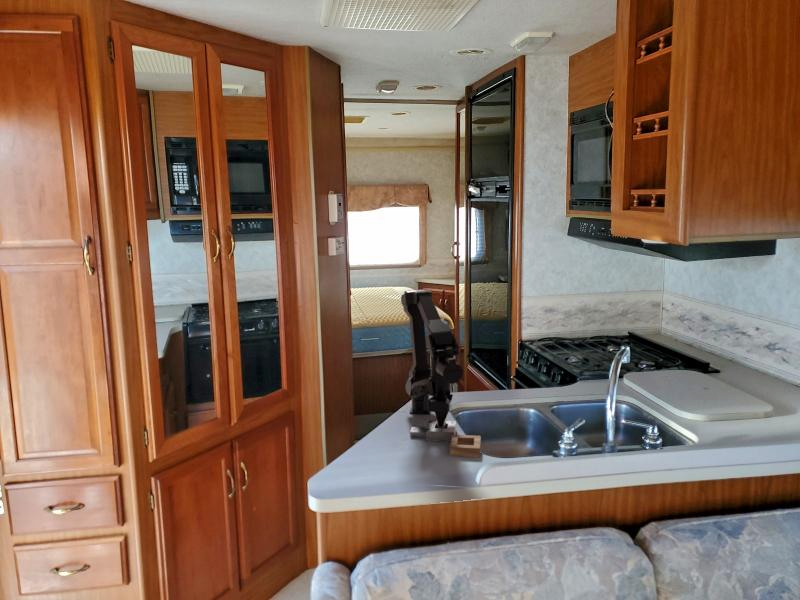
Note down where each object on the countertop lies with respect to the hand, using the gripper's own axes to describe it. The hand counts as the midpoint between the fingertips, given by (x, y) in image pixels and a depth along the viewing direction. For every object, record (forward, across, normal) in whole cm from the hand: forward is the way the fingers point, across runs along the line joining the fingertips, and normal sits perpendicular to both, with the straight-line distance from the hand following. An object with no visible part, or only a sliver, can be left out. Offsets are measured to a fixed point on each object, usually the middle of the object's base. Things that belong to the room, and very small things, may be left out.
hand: (441, 423), depth 176 cm
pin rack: (+4, +8, +8) cm, 12 cm away
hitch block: (+4, 0, -2) cm, 5 cm away
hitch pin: (+4, 0, 0) cm, 4 cm away
